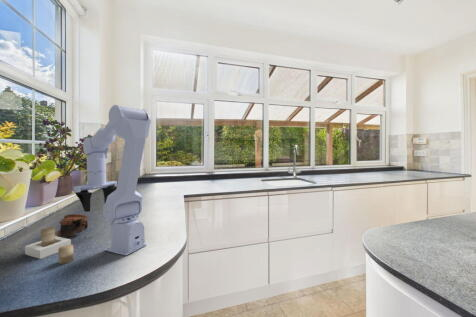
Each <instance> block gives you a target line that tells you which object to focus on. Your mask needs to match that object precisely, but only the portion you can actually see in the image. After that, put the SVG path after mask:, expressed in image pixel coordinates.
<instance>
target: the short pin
mask: <svg viewBox="0 0 476 317" xmlns="http://www.w3.org/2000/svg"><path fill="white" fill-rule="evenodd" d="M58 251H59V252H58V264H59V265H66V264H69V263H71V262H73V261H74V258H75V256H74V244H71V245H65V246H62V247H60V248H59V249H58Z"/></svg>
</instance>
